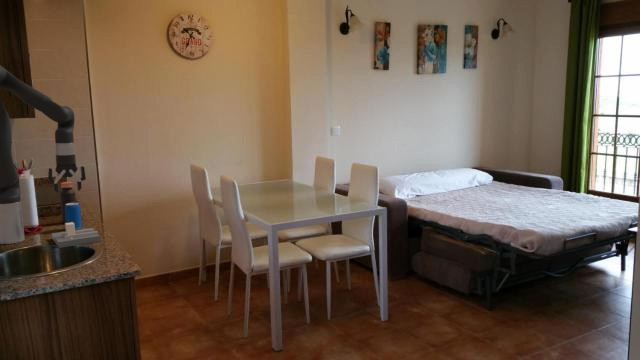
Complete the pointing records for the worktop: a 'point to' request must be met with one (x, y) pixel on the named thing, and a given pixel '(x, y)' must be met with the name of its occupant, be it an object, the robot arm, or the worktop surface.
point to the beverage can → (73, 214)
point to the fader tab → (70, 228)
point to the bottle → (66, 197)
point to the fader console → (76, 237)
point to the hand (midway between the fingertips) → (67, 191)
